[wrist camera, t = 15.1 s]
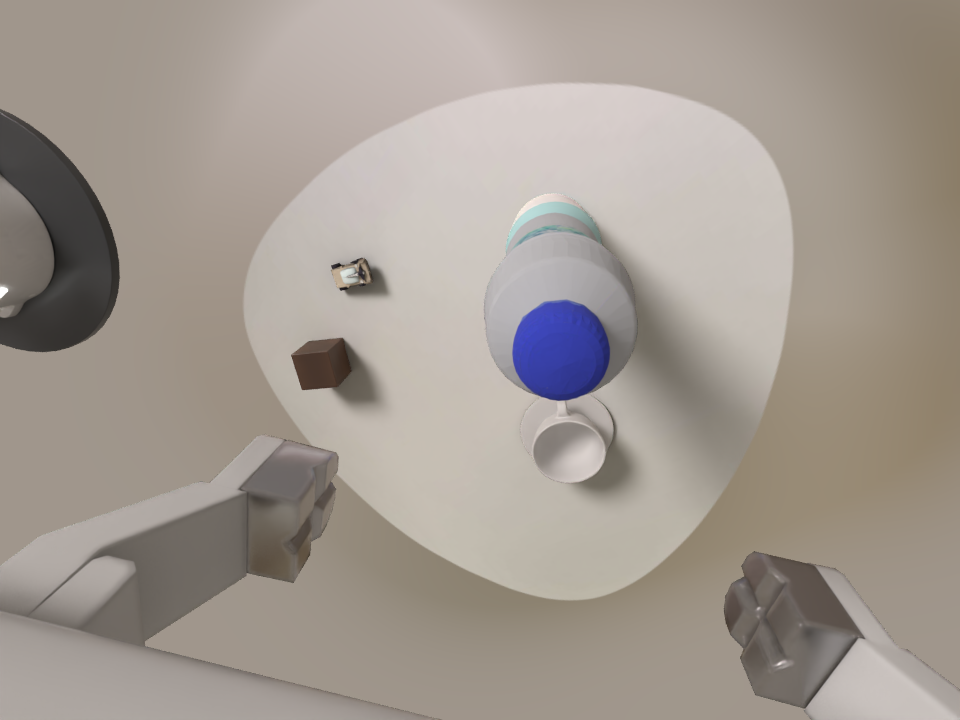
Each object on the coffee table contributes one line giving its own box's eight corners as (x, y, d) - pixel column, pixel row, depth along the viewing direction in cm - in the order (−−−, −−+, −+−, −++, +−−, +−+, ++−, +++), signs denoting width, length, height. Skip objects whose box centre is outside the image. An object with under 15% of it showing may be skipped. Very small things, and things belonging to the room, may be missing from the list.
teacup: (617, 462, 54) (623, 489, 49) (528, 471, 55) (527, 497, 51) (607, 382, 50) (614, 402, 46) (513, 394, 52) (511, 415, 48)
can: (525, 183, 44) (520, 191, 33) (599, 205, 44) (619, 219, 33) (504, 258, 47) (492, 288, 36) (574, 278, 46) (584, 315, 35)
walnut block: (318, 374, 54) (301, 390, 50) (308, 341, 52) (290, 354, 49) (351, 371, 53) (337, 387, 50) (342, 337, 52) (327, 351, 48)
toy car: (333, 264, 49) (325, 268, 47) (369, 255, 48) (362, 259, 46) (342, 289, 50) (334, 294, 48) (378, 280, 49) (371, 285, 47)
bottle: (504, 301, 36) (466, 449, 17) (504, 207, 33) (458, 264, 15) (597, 302, 35) (658, 458, 17) (603, 205, 32) (685, 263, 14)
